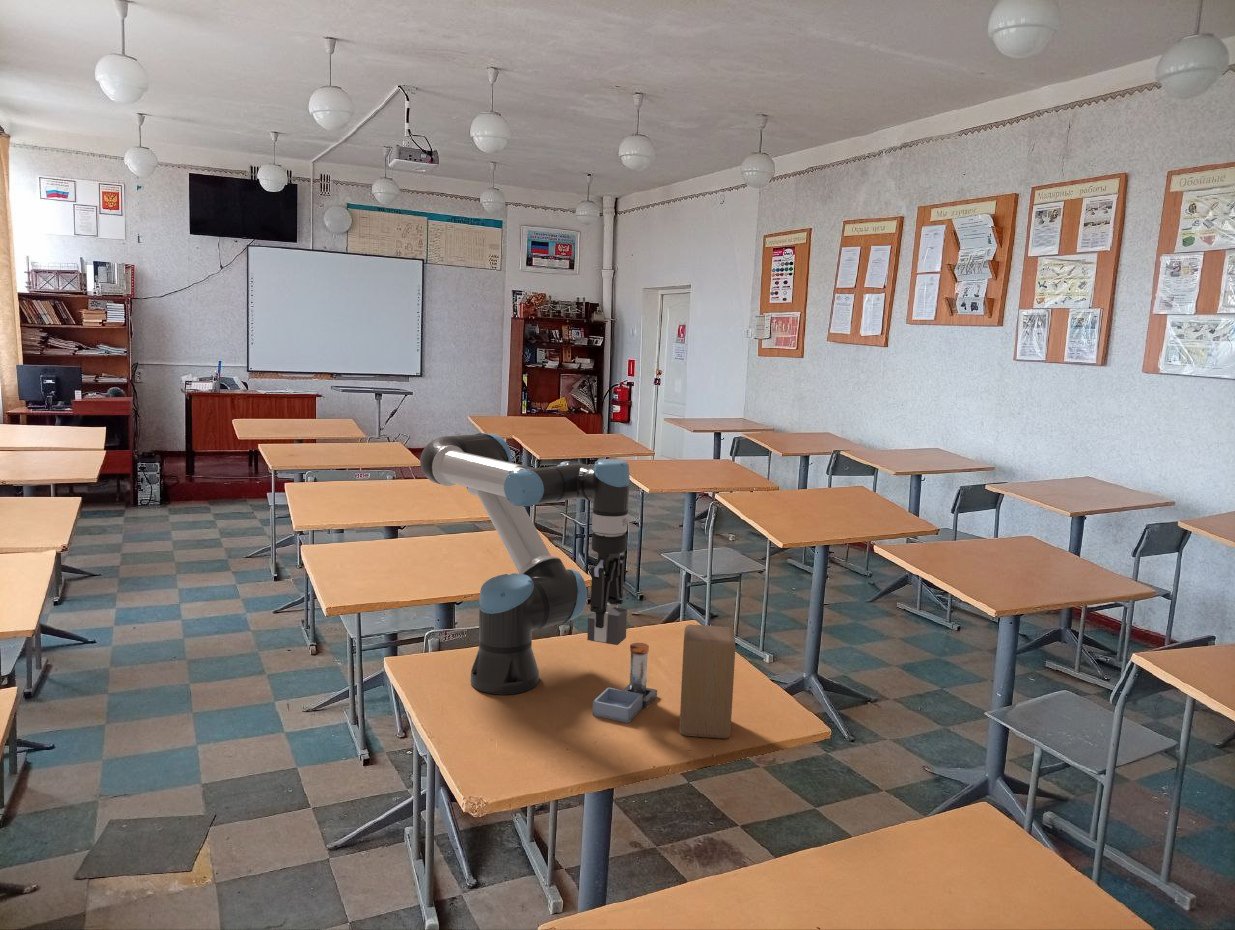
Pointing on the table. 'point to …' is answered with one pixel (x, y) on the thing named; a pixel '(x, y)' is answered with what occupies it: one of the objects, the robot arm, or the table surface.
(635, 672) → the pin
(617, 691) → the tray
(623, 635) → the dark grey stepped piece
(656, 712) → the table surface
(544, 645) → the table surface
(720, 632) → the block
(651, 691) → the socket
